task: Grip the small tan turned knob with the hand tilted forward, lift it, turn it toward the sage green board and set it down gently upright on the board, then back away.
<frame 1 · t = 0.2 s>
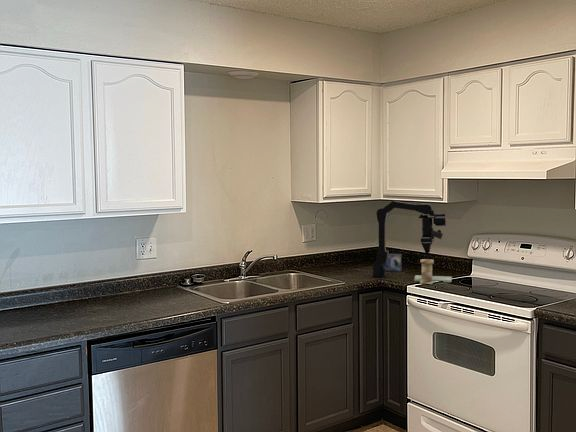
hand: (427, 253, 340), 14 cm above the worktop, tool pointing down, fingers open, 9 cm apart
small box: (392, 271, 368), on the worktop
board: (433, 279, 338), on the worktop
tan turned knob: (426, 283, 327), on the worktop
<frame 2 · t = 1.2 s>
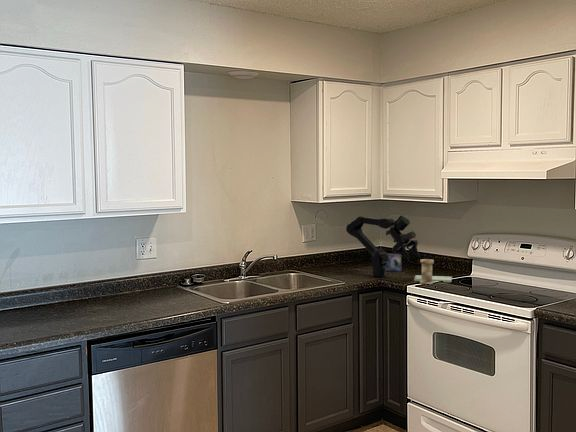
hand: (414, 257, 331), 13 cm above the worktop, tool tilted 45°, fingers open, 9 cm apart
nothing on the worktop moved.
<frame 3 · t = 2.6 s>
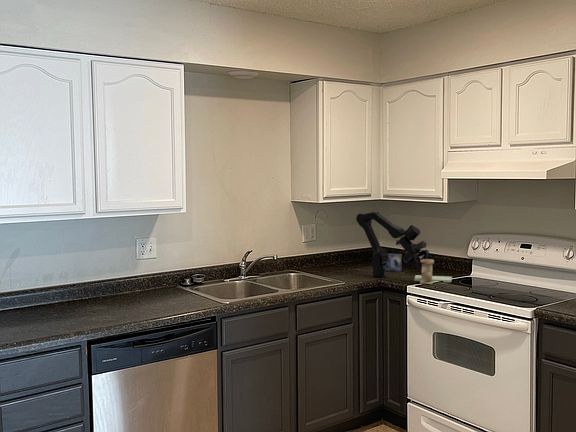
hand: (425, 267, 327), 9 cm above the worktop, tool tilted 45°, fingers open, 9 cm apart
nothing on the worktop moved.
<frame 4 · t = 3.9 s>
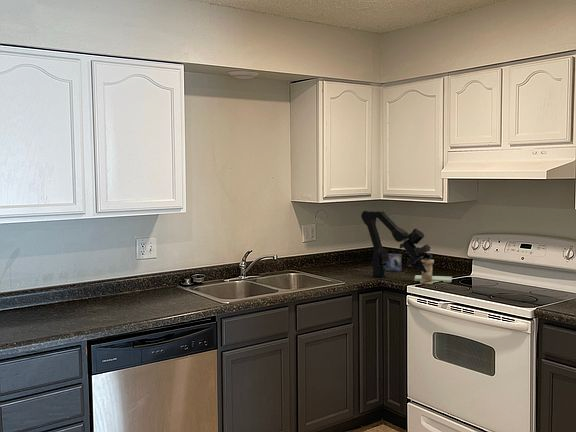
hand: (429, 271, 325), 7 cm above the worktop, tool tilted 45°, fingers closed on tan turned knob, 6 cm apart
tan turned knob: (426, 283, 327), on the worktop, touching gripper
everything else where it was.
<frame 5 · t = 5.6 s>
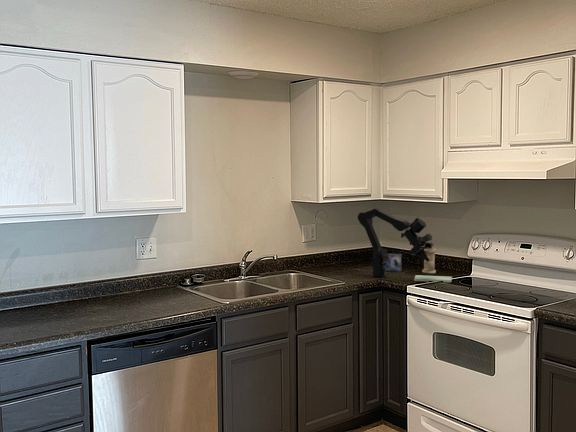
hand: (431, 260, 327), 12 cm above the worktop, tool tilted 45°, fingers closed on tan turned knob, 6 cm apart
tan turned knob: (429, 272, 329), point 6 cm above the worktop, touching gripper
everything else where it was.
when the fingers open (9 cm above the worktop, at t = 7.7 s): tan turned knob drops 1 cm, resting on board.
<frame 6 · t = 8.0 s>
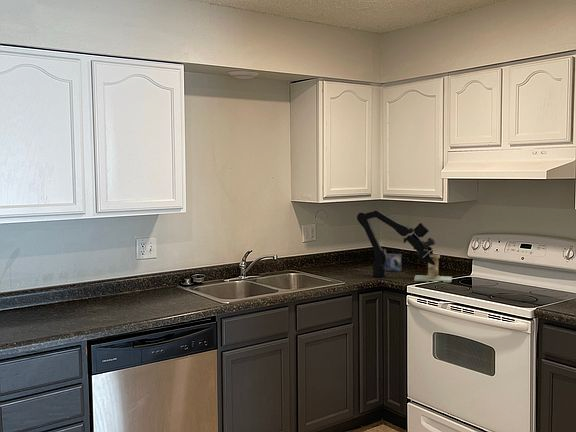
hand: (435, 263, 336), 9 cm above the worktop, tool tilted 45°, fingers open, 9 cm apart
tan turned knob: (432, 277, 338), point 1 cm above the worktop, touching board
everything else where it was.
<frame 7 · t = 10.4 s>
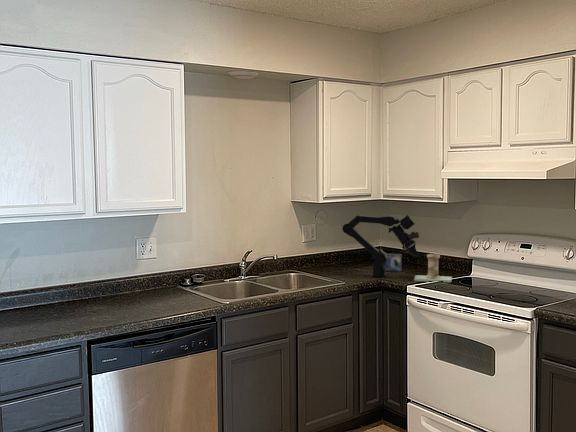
hand: (417, 256, 341), 12 cm above the worktop, tool tilted 35°, fingers open, 9 cm apart
nothing on the worktop moved.
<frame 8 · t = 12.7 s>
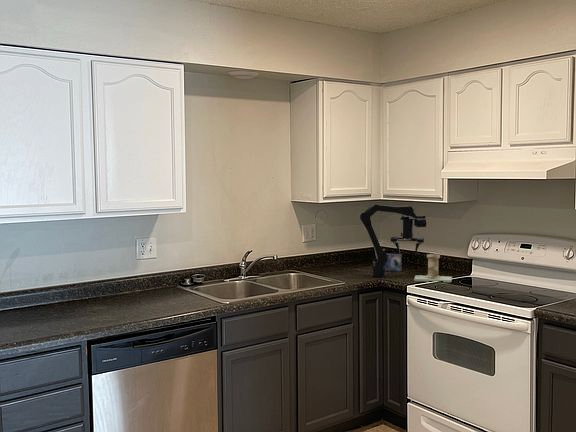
hand: (407, 254, 347), 13 cm above the worktop, tool pointing down, fingers open, 9 cm apart
nothing on the worktop moved.
at the end: tan turned knob inside the target area on the board (0.1 cm from its centre), point 1.2 cm above the board's base; tan turned knob tilted 0°; the gripper is holding nothing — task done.
